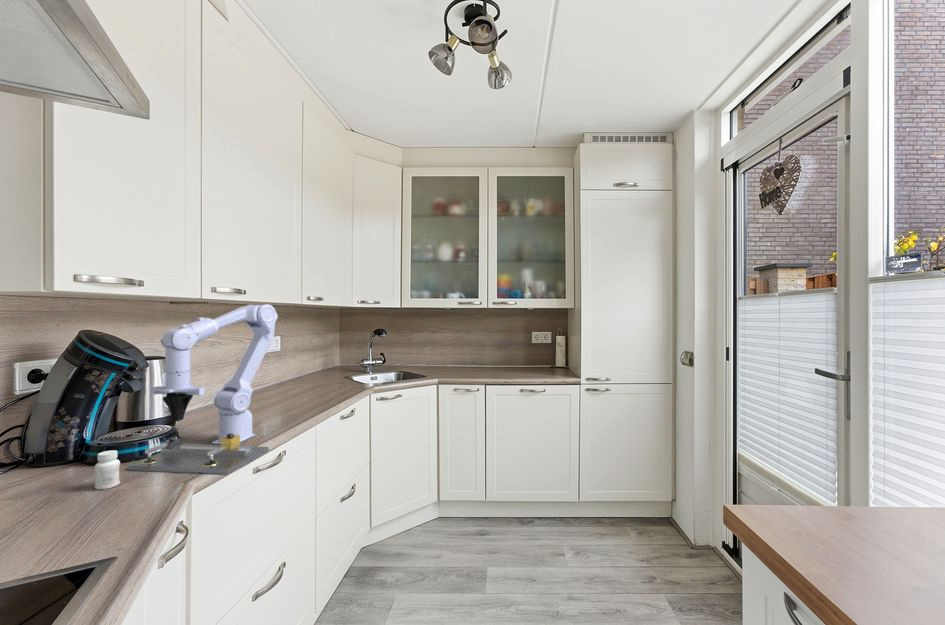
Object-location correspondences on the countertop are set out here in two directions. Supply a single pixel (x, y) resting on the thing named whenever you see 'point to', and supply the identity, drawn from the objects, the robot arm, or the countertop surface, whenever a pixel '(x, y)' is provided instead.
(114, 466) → the pill bottle
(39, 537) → the countertop surface
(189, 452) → the rail
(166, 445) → the fixed leg
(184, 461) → the flange plate
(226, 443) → the sliding leg
